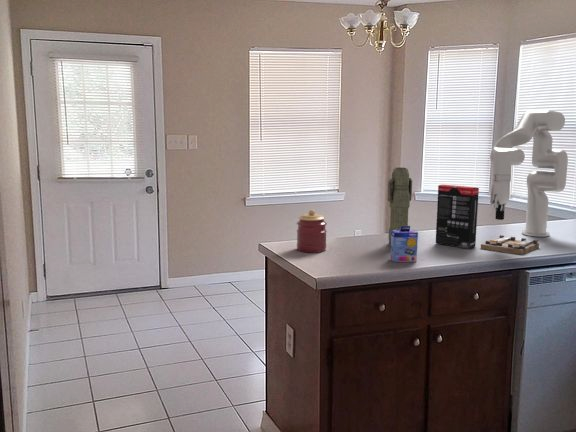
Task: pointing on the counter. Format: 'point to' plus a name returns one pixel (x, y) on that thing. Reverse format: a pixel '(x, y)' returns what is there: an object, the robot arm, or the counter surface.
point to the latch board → (510, 246)
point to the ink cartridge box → (404, 245)
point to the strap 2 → (522, 243)
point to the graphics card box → (457, 216)
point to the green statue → (399, 199)
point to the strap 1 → (499, 240)
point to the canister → (311, 233)
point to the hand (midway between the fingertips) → (499, 219)
